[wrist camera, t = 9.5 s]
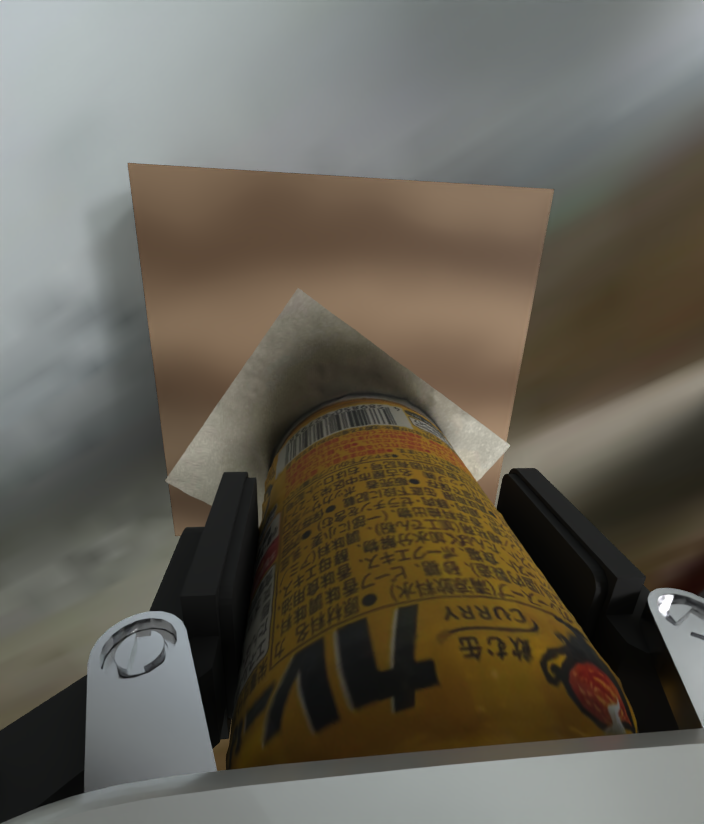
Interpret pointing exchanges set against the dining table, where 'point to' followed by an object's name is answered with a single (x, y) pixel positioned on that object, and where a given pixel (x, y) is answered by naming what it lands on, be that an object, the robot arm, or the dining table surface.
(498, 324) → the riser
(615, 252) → the dining table surface
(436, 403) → the condiment
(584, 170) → the dining table surface
